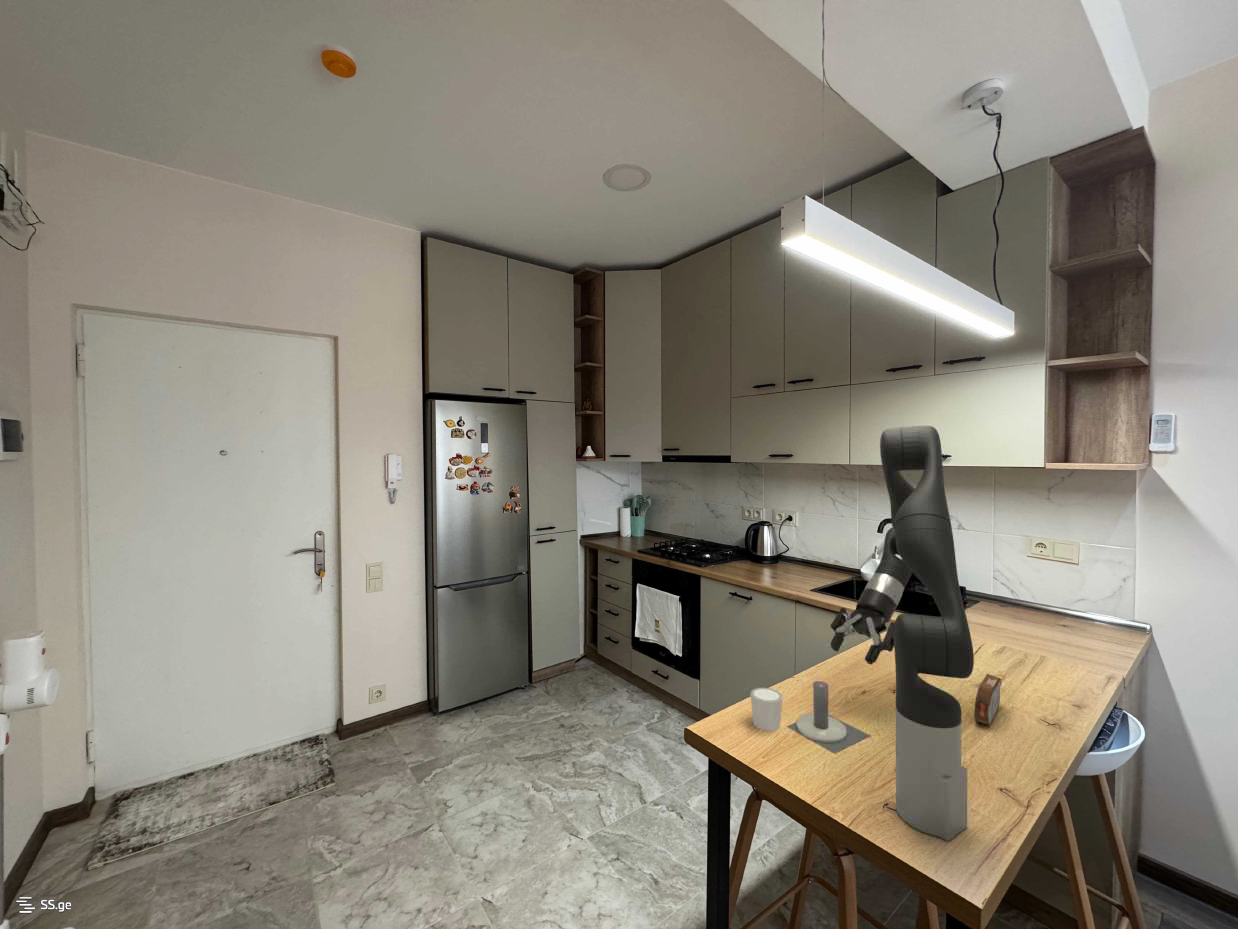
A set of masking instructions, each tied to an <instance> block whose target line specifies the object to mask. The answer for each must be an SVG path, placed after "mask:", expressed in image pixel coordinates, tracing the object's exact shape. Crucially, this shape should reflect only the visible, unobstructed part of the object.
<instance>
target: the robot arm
mask: <svg viewBox="0 0 1238 929" xmlns="http://www.w3.org/2000/svg"><path fill="white" fill-rule="evenodd" d="M879 451H880V461H881V465H882V471H883V476H884V481H885V484H886V485H885V486H886V489H887V494H888V497H889V502H890V504H889V505H890V517H891V518H890V519H891V520H890V521H891V526H892V527H890V528H889V529H888V530H887V532H886V534H885V538H884V542H883V550H882V555H881V559H880V562H879V564H878V566H877V568H876V569H875V571H874V574H873V575H872V576H871V578H870V579H869V580H868V582H867V584H866V586H865V588H864V590H863V591H862V593H861V595H860V597H859V598H858V601H857V602H856V606H855V609H854V610H853V611H848V610H847V609H846V608H845V607H841V608H840V610H839V611H838V613H837V614H836V616H835V618H834V620H833V621H832V623H831V624H830V628H831V629H832V630H833V632H834V634H833V637H832V639H831V642H830V648H831V649H832V651H833V652H837V653H838V652H839V651H840V648H841V646H842V645H843V642H844V640H845V638H847V637H848V636H850V635H851V636H853V635H855V634H858V635H863V636H866V637H867V638H871V640H872V643H873V644H871V645H870V647H869V648H868V651H867V653H866V655H865V657H864V661H865V662H866V663H867V664H868V665H871V666H872V665H873V664H875V663H876V662H877V660H878V658H879V656H880V655H881V652H883V651H888V652H892V651H893V649H894V663H895V807H896V808H895V809H896V812H897V814H898V815H899V817H900V818H901V819H902V821H904V822H905V823H907V825H909V826H910V827H912V828H914V829H916V830H917V831H920V832H922V833H925V834H926V835H927V834H928V835H931V836H934V837H935V836H936V837H939V838H941V839H943V840H945V841H947V842H948V841H950V840H952V839H953V838H954V837H956V836H957V835H958V834H959V833H961V832H962V831H963V830H965V829H967V827H968V769H967V767H966V766H963V765H962V706H961V704H960V702H959V700H957V698H956V697H955V696H953V695H952V694H951V693H948V692H947V691H945V690H943V689H941V688H939V687H936V686H935V685H933V684H930V683H929V682H927V681H926V680H925V679H923V678H921V677H920V676H919V674H923V675H929V676H930V675H931V676H937V677H944V678H945V677H946V678H950V679H951V678H952V679H968V678H969V677H971V675H972V673H973V670H974V666H975V665H974V664H975V663H974V662H975V656H974V655H975V654H974V648H973V647H974V645H973V641H972V636H971V632H970V627H969V622H968V619H967V615H966V614H967V613H966V610H965V606H964V600H963V596H962V593H961V592H962V591H961V587H960V583H959V577H958V567H957V560H956V559H957V558H956V551H955V549H956V548H955V541H954V534H953V526H952V522H951V517H950V510H949V506H948V502H947V495H946V491H945V482H944V481H945V480H944V468H943V467H944V466H943V453H942V443H941V437H940V434H939V432H938V430H937V429H936V428H935V427H934V426H932V425H917V426H916V425H915V426H900V427H893V428H887V429H884V430H883V431H882V433H881V435H880V440H879ZM903 471H923V472H922V475H921V478H920V480H919V482H918V483H917V485H916V487H913V485H911V484H910V483H909V481H907V480H906V478H905V477H904V476H903V475H902V474H901V472H903ZM898 556H899V557H898ZM912 573H913V575H914V576H915V577H916V578H917V579H918V580H919V581H920V582H921V583H922V585H924V587H925V588H926V590H927V591H928V593H930V595H931V597H932V599H933V600H934V602H935V604H936V606H937V609H938V611H939V614H940V616H935V615H925V614H914V613H900V614H898V616H896V618H895V621H891V619H892V617H893V615H894V613H895V611H896V610H897V607H898V605H899V603H900V601H901V598H902V596H903V593H904V590H905V588H906V586H907V584H908V582H909V580H910V578H911V576H912ZM890 621H891V622H890ZM884 631H886V632H885V635H884V638H883V639H882V635H881V633H882V632H884Z"/></svg>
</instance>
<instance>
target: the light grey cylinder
mask: <svg viewBox="0 0 1238 929" xmlns="http://www.w3.org/2000/svg"><path fill="white" fill-rule="evenodd" d="M750 702H751V712H752V713H751V714H752V721H753V722H752V723H753V725H754V726H755V728H758V730H761V731H763V732H765V731H766V732H775V731H779V729H780V727H781V719H782V718H781V717H782V707H783V694H781V692H779V691H778V690H777V689H773V688H769V687H756V688H753V689H752V690H751V691H750Z"/></svg>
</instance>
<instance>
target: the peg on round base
mask: <svg viewBox="0 0 1238 929" xmlns="http://www.w3.org/2000/svg"><path fill="white" fill-rule="evenodd" d="M812 685H813V688H812V689H813V691H812V694H813V698H812V699H813V700H812V701H813V706H812V707H813V708H812V709H813V713H807V714H802V715H800V716H798V718H797V719H796V722H797V730H798V731H799V732H800V733H801V734H802V735H803V736H802V735H801V734H800V735H801V736H802V737H804V736H805V737H804V738H806V739H808V740H809V739H811V740H813V741H817V742H821V743H838V742H841V741H843V740H844V739H845V738H846V727H845V726H844V725H843V724H842V723H841V722H840V721H838V720H837V719H838V718H837V719H834V718H832V717H829V716H828V714H829V684H828V683H826V682H824V681H819V680H817V681H813V684H812ZM811 740H810V741H811ZM813 741H812V742H813Z"/></svg>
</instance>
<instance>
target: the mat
mask: <svg viewBox="0 0 1238 929" xmlns="http://www.w3.org/2000/svg"><path fill="white" fill-rule="evenodd" d="M828 716H829V717H832V718H834V719H837V720H838V721H840V722H841V723H842V724H843V725H844V726H845V727H846V738H845V739H844V740H843V741H841V742H838V743H821V742H817V741H813V740H811V739H808V740H810V741H812V742H813V743H815V744H817V745H818V746H820V747H821V748H824V749H825V750H827V751H829V752H830V753H833V754H838V753H839V752H842V751H844V750H845V749H848V748H850V747H852V746H854V745H856V744H858V743H861V741H863V740H866V739H868V738H870V737H871V736H872V735H870V734H869V733H866V732H864V731H862V730H860V729H859V728H857V727H854V726H852V725H850V724H848V723H846V722H845V721H842V720H841V719H838V718H837V717H834V715H833V716H832V715H831V714H829V713H828ZM786 727H787V728H788V729H790V730H792V731H794V732H795V733H797V734H799V735H801V736H802V737H804V738H806V737H805V736H803V735H802V734H801V733H800V732H799V731H798V730H797V721H795V722H794V723H791V724H789V725H787V726H786Z"/></svg>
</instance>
